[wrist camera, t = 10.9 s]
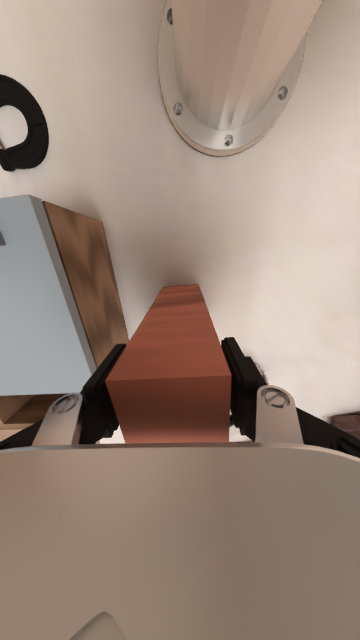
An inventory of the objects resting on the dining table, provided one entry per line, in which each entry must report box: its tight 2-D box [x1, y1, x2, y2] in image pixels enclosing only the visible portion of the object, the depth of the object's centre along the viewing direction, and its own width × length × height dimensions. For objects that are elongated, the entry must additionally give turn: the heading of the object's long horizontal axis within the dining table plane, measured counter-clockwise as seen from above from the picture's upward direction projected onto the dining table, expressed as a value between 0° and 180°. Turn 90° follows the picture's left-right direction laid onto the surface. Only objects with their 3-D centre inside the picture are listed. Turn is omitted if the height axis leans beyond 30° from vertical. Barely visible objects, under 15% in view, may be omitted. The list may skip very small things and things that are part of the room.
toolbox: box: [0, 201, 129, 430], centre depth 21 cm, size 24×16×9 cm, turn 5°
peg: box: [105, 285, 231, 444], centre depth 16 cm, size 5×5×18 cm
